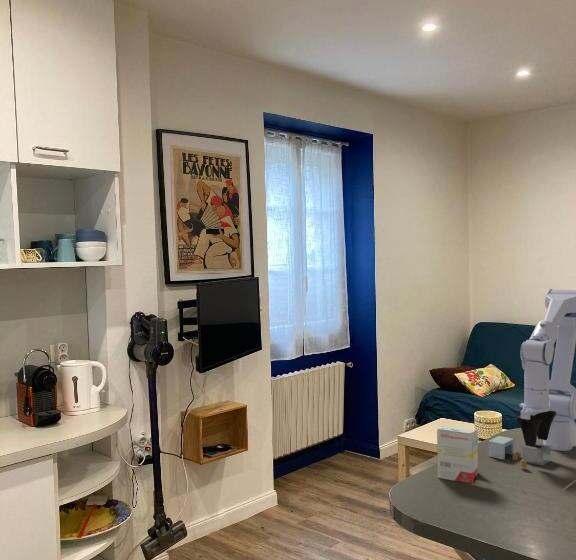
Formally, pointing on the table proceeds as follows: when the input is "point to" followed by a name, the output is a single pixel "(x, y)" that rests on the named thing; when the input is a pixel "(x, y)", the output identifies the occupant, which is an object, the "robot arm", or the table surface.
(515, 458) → the plate
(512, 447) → the block
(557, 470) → the table surface
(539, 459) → the block
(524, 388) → the robot arm
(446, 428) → the ink box
